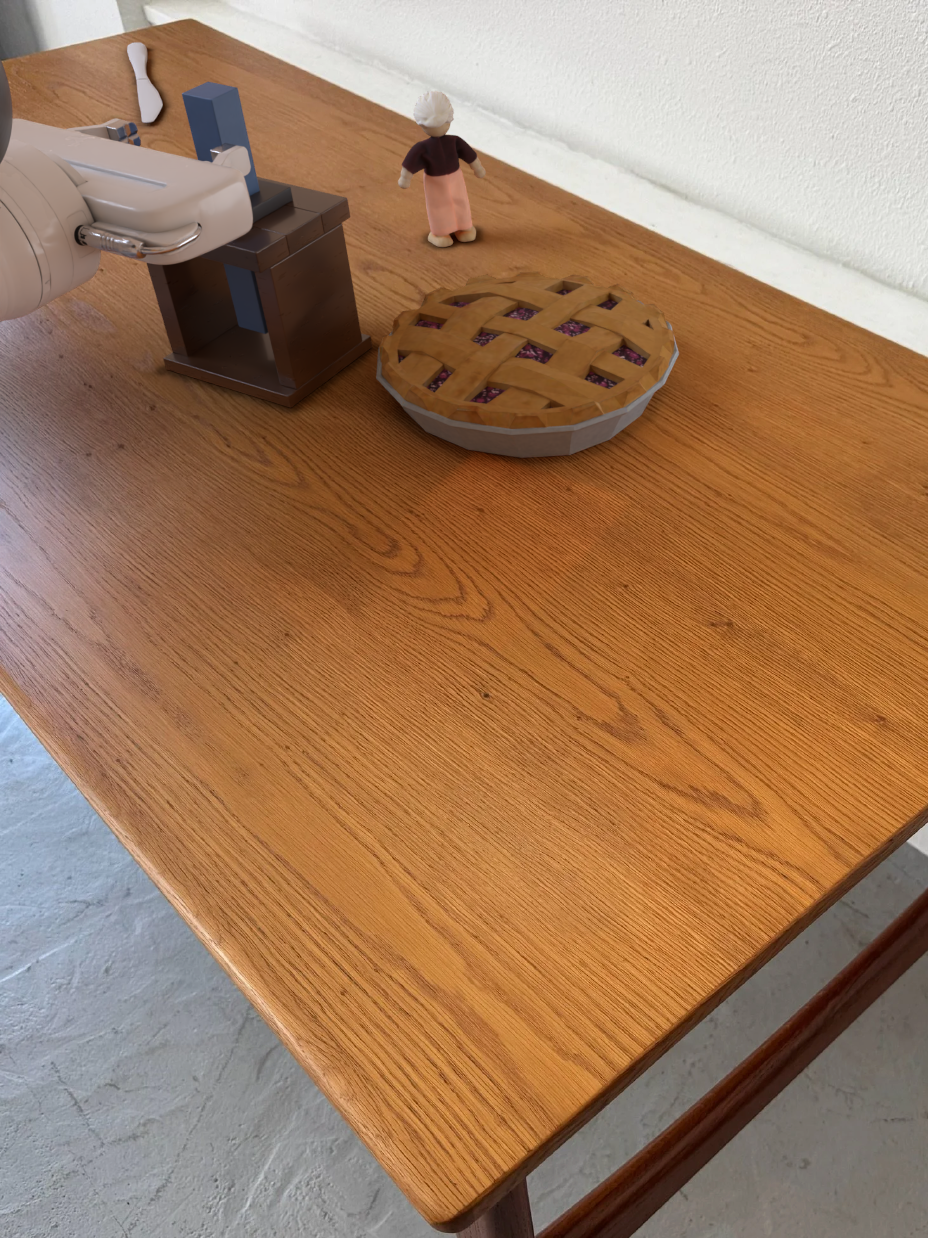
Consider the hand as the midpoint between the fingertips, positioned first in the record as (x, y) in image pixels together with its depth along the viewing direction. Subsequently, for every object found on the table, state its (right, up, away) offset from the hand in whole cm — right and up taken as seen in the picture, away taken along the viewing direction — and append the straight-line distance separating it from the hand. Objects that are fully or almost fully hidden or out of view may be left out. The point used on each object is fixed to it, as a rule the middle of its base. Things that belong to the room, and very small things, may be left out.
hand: (184, 143), depth 82 cm
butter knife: (-26, +31, +58) cm, 71 cm away
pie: (+22, -14, +11) cm, 28 cm away
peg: (+1, -9, +12) cm, 15 cm away
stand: (+1, -11, +14) cm, 18 cm away
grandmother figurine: (+13, +3, +30) cm, 32 cm away
